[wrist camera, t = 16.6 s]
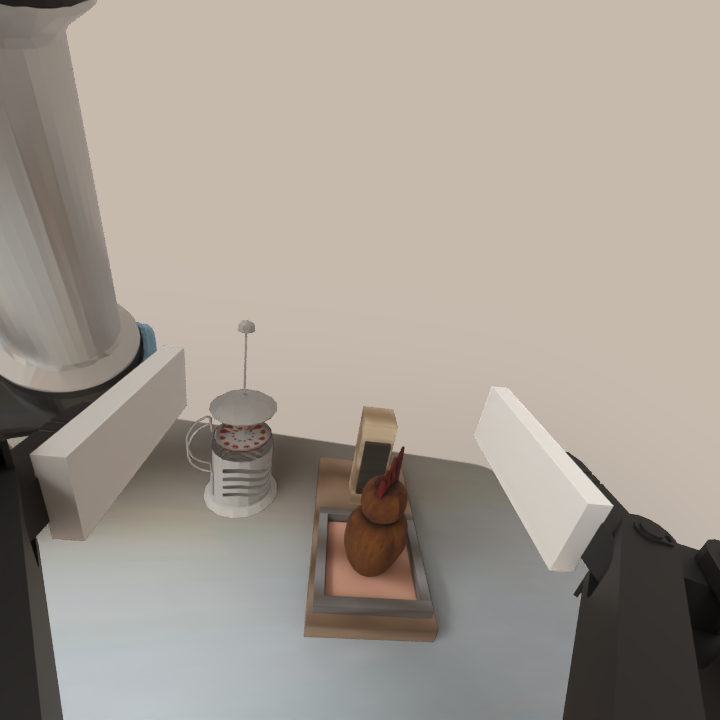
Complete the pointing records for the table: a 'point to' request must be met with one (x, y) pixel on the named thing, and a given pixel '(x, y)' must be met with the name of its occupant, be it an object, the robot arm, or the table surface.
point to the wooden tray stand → (332, 569)
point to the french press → (240, 450)
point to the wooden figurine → (378, 524)
